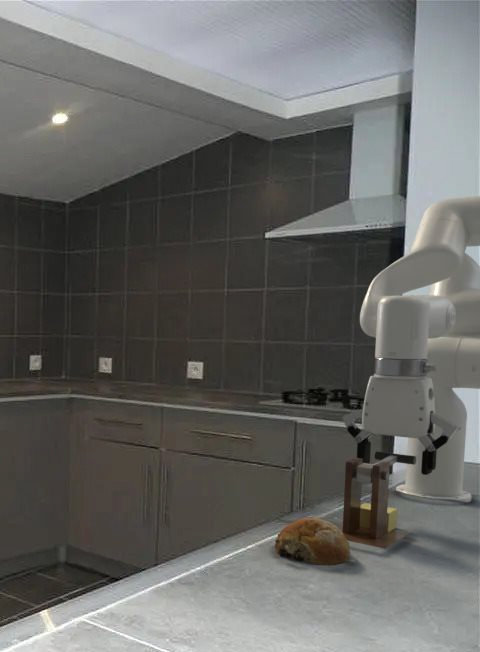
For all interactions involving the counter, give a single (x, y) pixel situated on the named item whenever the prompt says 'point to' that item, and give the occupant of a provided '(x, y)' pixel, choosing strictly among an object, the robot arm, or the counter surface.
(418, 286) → the robot arm
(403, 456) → the arm
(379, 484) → the cutter
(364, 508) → the butter
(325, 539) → the bread roll
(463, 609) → the counter surface
